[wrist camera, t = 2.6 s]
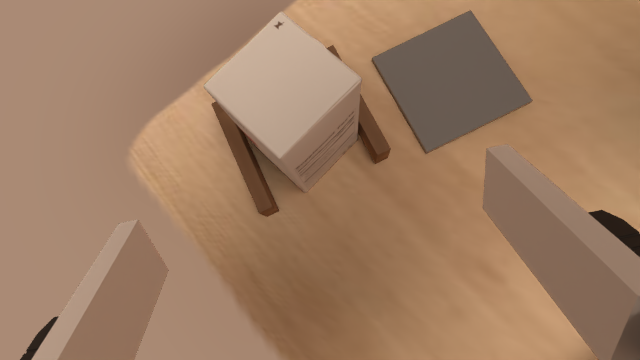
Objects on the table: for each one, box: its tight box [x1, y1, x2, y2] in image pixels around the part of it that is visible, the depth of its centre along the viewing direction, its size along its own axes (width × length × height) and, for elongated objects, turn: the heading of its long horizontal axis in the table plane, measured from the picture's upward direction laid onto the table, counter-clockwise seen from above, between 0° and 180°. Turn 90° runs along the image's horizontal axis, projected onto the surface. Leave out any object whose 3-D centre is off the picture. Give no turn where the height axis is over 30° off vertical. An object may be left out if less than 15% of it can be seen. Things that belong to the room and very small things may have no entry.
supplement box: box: [204, 12, 362, 193], centre depth 34 cm, size 9×9×15 cm
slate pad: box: [372, 10, 532, 154], centre depth 41 cm, size 13×13×1 cm
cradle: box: [212, 45, 391, 217], centre depth 40 cm, size 15×14×4 cm
